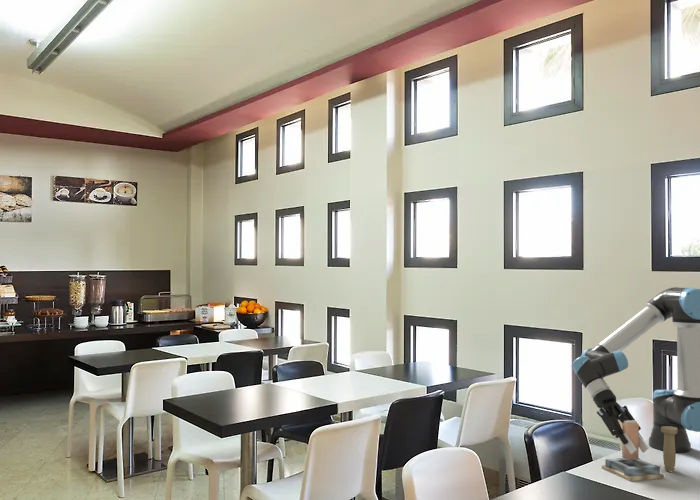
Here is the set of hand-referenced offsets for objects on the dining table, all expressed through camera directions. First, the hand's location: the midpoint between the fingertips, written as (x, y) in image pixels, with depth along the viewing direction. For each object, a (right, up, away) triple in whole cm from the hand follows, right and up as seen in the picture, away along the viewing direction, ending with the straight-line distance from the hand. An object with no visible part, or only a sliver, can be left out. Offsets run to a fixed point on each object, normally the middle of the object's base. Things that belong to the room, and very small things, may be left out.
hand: (639, 451), depth 209 cm
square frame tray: (-1, -9, +3) cm, 9 cm away
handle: (+13, -9, +6) cm, 18 cm away
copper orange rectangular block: (-2, -3, +3) cm, 5 cm away
